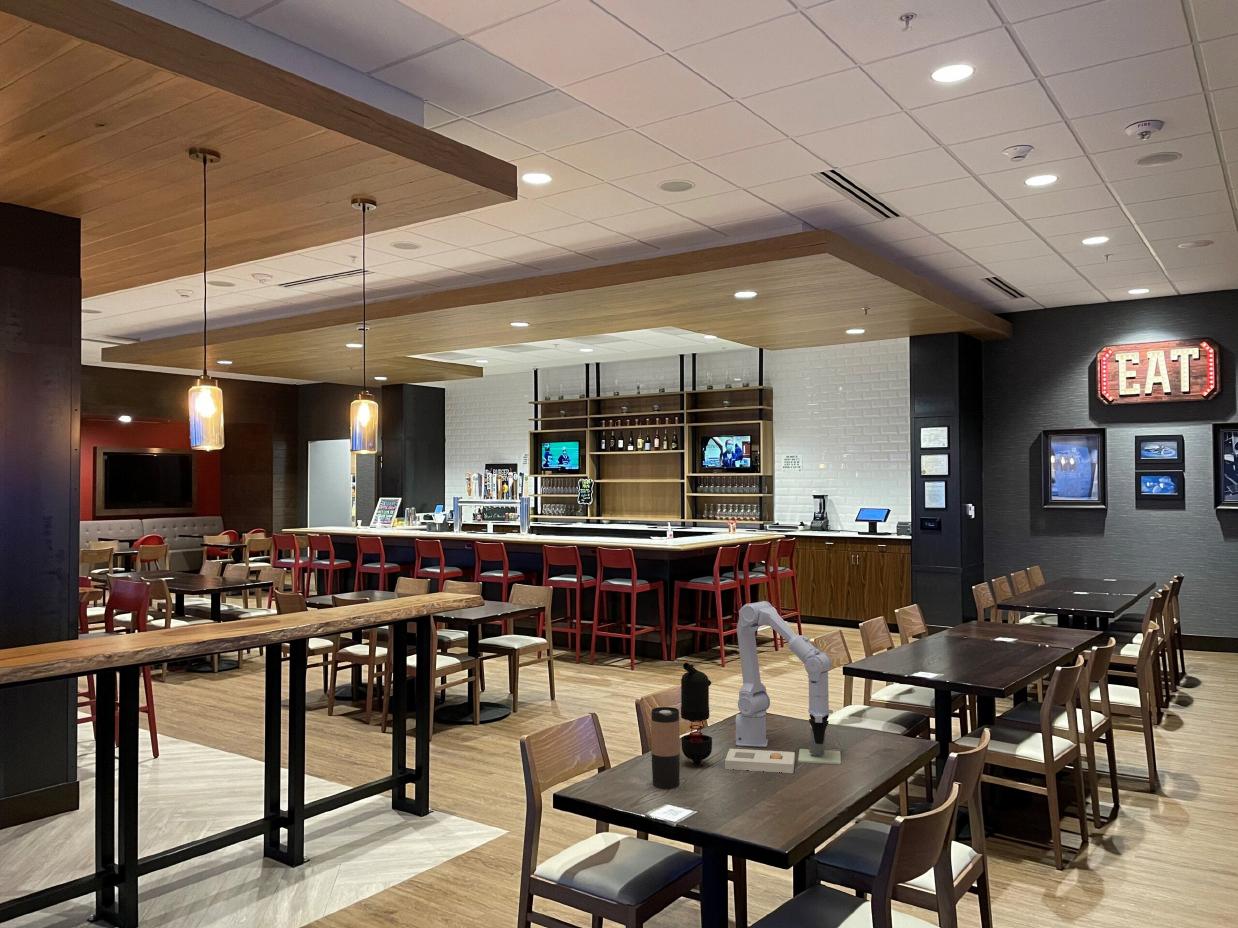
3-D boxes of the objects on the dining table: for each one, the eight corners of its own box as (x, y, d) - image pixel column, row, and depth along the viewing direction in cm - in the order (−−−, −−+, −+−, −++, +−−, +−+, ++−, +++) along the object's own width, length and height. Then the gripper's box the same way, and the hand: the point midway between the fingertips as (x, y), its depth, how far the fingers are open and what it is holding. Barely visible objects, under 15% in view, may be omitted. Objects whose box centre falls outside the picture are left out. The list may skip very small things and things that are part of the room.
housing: (725, 768, 257) (725, 760, 257) (729, 756, 268) (729, 748, 268) (793, 773, 252) (793, 764, 252) (794, 760, 264) (794, 752, 264)
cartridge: (809, 754, 265) (810, 726, 266) (807, 749, 270) (809, 722, 270) (826, 755, 265) (827, 728, 265) (824, 751, 269) (825, 724, 270)
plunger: (771, 764, 258) (770, 755, 258) (771, 761, 261) (771, 752, 261) (780, 764, 258) (780, 755, 258) (781, 761, 260) (781, 753, 260)
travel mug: (663, 778, 249) (662, 705, 249) (685, 783, 244) (685, 709, 244) (646, 785, 243) (645, 710, 243) (669, 791, 238) (668, 714, 238)
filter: (700, 771, 254) (699, 664, 255) (673, 766, 260) (672, 661, 260) (724, 760, 265) (723, 657, 266) (697, 755, 270) (696, 654, 271)
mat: (798, 761, 263) (798, 760, 263) (799, 750, 274) (799, 748, 274) (840, 764, 260) (840, 762, 260) (840, 752, 272) (840, 750, 272)
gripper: (832, 701, 260) (833, 748, 259) (832, 690, 274) (833, 735, 274) (807, 699, 261) (808, 747, 261) (808, 689, 276) (809, 734, 275)
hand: (819, 741), depth 267 cm, fingers closed on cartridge, 4 cm apart
